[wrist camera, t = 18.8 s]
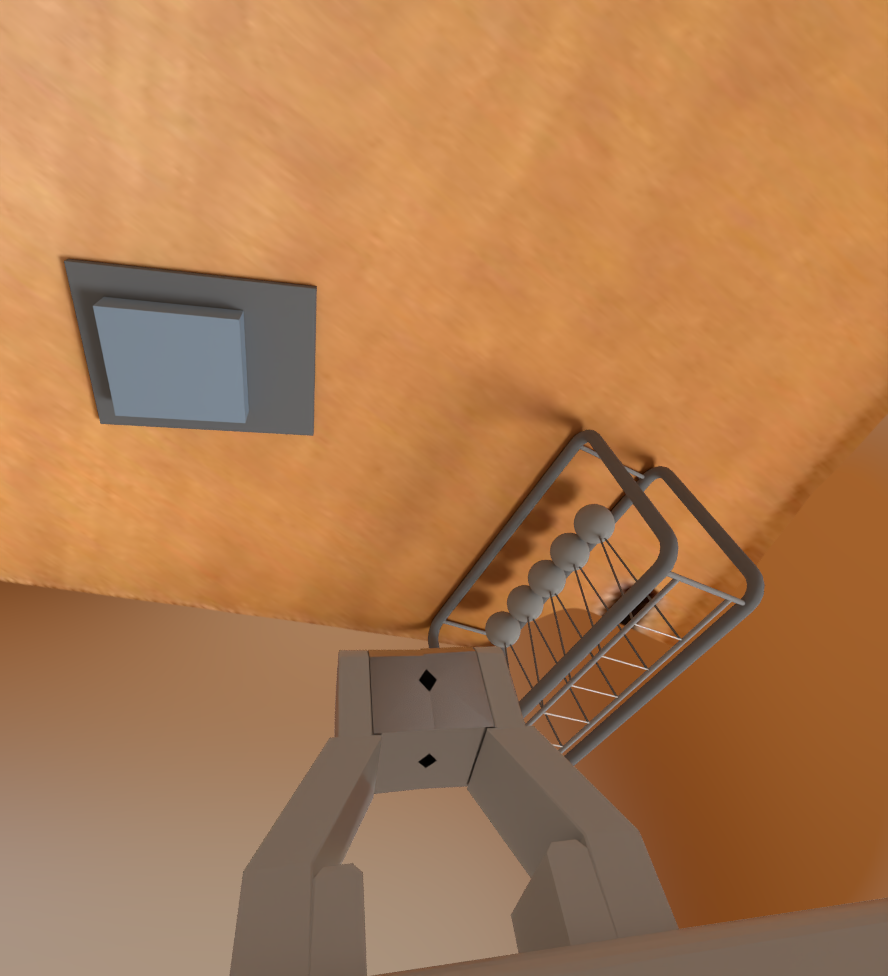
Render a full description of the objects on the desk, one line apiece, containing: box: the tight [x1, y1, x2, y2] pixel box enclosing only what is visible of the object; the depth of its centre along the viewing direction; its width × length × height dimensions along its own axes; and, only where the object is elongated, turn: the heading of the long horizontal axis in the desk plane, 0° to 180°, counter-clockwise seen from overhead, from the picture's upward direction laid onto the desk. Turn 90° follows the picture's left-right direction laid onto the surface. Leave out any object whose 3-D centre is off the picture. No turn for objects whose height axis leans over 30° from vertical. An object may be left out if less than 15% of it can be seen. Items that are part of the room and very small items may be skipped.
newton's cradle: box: [428, 430, 764, 766], centre depth 51 cm, size 30×10×18 cm, turn 150°
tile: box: [93, 297, 249, 423], centre depth 40 cm, size 2×8×9 cm
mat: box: [64, 259, 317, 436], centre depth 41 cm, size 12×16×1 cm
